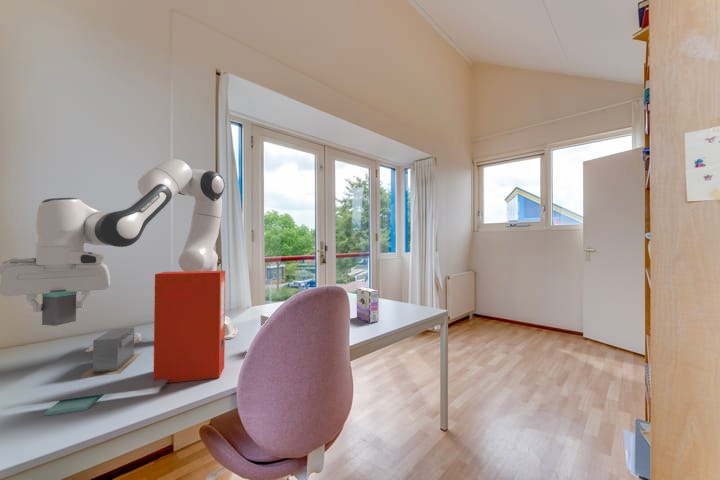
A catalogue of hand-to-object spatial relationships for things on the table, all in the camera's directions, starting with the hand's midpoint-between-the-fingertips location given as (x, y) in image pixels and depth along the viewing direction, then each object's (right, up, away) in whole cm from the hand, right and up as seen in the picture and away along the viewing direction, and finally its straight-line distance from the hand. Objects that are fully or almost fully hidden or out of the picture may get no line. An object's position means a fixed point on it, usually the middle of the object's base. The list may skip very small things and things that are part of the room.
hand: (59, 309), depth 76 cm
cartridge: (0, -4, 0) cm, 4 cm away
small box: (+46, -24, +36) cm, 63 cm away
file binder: (+28, -24, +12) cm, 39 cm away
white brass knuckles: (-13, -24, +34) cm, 44 cm away
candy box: (+84, -24, +77) cm, 116 cm away
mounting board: (0, -23, +16) cm, 28 cm away
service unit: (0, -22, +16) cm, 27 cm away
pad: (+8, -23, -3) cm, 25 cm away
